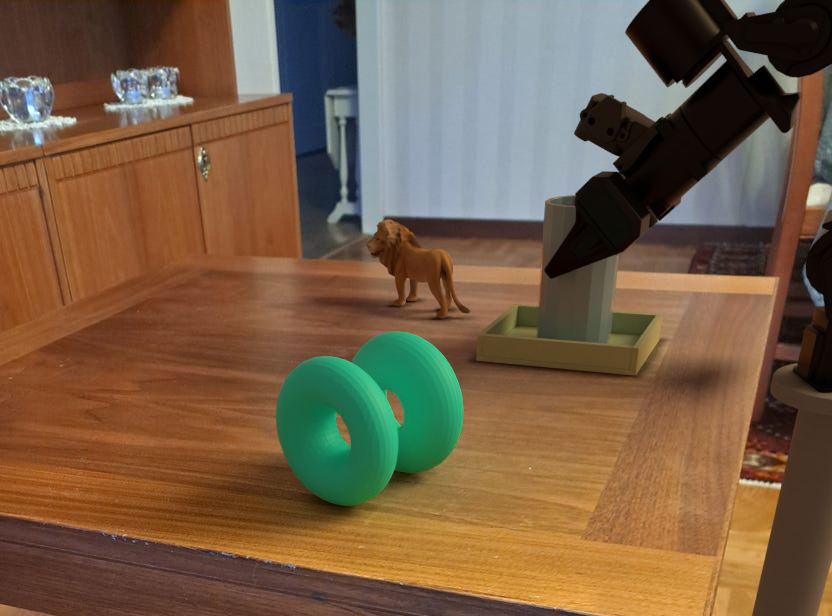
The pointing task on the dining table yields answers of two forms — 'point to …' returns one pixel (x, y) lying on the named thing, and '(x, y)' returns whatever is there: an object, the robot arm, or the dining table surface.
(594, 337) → the cup
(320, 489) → the donuts
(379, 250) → the lion figurine
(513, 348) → the tray
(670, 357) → the dining table surface
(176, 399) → the dining table surface
